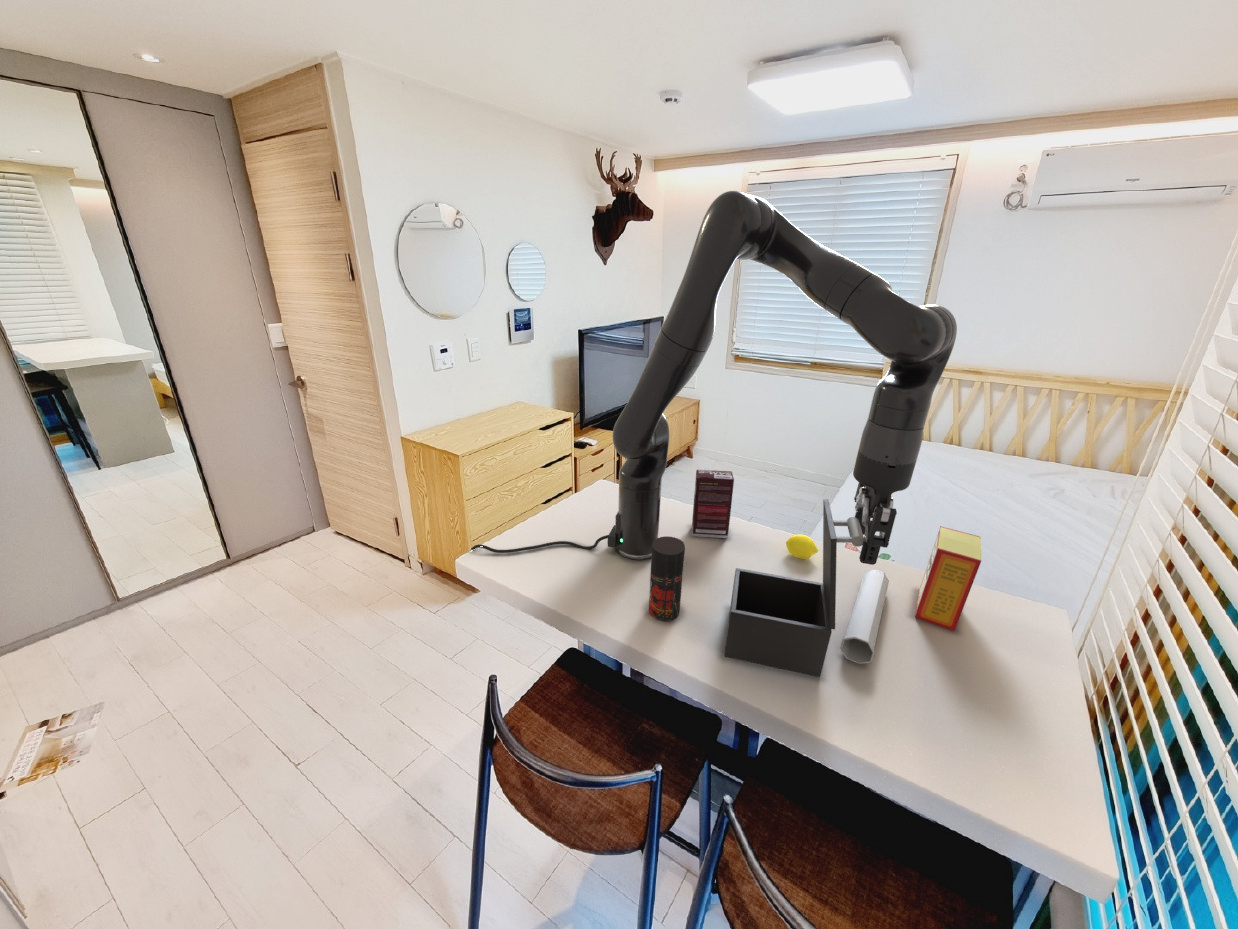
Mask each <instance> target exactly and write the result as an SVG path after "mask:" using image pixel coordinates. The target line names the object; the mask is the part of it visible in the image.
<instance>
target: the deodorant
mask: <svg viewBox="0 0 1238 929" xmlns="http://www.w3.org/2000/svg"><path fill="white" fill-rule="evenodd" d="M685 553H686V544H685V542H684V541H682V540H681V539H680V538H678V537H675V536H666V535H665V536H660V537H659V536H658V538H657V539H655V540H654V541H653V543H652V556H651V558H650V576H649V578H650V579H649V594H648V596H649V597H648V614H649V616H650V617H652V618H653V620H657V621H659V622H662V623H663V622H665V623H666V622H667V623H668V622H673V621H674V620H676V619H677V618H678V617H679V616H680V611H681V599H682V590H683V589H682V588H683V576H684V566H685V565H684V564H685Z"/></svg>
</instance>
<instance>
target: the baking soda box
mask: <svg viewBox="0 0 1238 929" xmlns="http://www.w3.org/2000/svg"><path fill="white" fill-rule="evenodd" d="M981 538H982V537H981V536H980V535H976V534H972V533H968V532H965V531H961V530H956V529H953V528H949V527H946V526H941V525H940V526H939V528H938V533H937V535H936V539H935V540H934V544H933V547H932V550H931V554H930V556H929V559H928V562H927V566H926V569H925V572H924V574H923V578H922V580H921V584H920V586H919V590H918V594H917V601H916V608H915V615H914V619H917V620H921V621H924V622H927V623H930V624H933V625H935V626H938V627H941V628H945V629H946V630H950V631H953V632H955V631H956V628H957V626H958V623H959V620H960V618H961V615H962V613H963V610H964V607H965V605H966V603H967V600H968V598H969V595H970V592H971V589H972V586H973V584H974V582H975V579H976V576H977V574H978V571H979V569H980V566H981V563H982V540H981Z"/></svg>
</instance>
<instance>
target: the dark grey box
mask: <svg viewBox="0 0 1238 929" xmlns="http://www.w3.org/2000/svg"><path fill="white" fill-rule="evenodd" d="M730 600H731V601H730V608H729V615H728V624H727V631H726V638H725V639H726V640H725V648H724V658H725V657H726V658H729V659H734V660H738V661H739V660H740V661H744V662H748V663H754V664H758V665H762V666H765V667H771V668H775V669H779V670H785V671H788V672H794V673H798V674H803V675H808V676H812V677H816V678H821V677H822V676H821V675H822V672H823V668H824V664H825V659H826V656H827V652H828V649H829V644H830V640H831V636H832V630H833V629H830V628H829V621H828V614H827V607H826V600H825V592H824V585H823V582H818V581H812V580H806V579H801V578H796V577H791V576H790V577H789V576H784V575H779V574H773V573H767V572H761V571H756V570H752V569H751V570H750V569H744V568H739V567H736V568H735V572H734V579H733V585H732V593H731V599H730Z"/></svg>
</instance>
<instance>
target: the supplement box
mask: <svg viewBox="0 0 1238 929" xmlns="http://www.w3.org/2000/svg"><path fill="white" fill-rule="evenodd" d="M734 483H735V478H734V474H733V471H732V470H730V471H729V470H714V469H713V470H710V469H696V471H695V482H694V494H693V507H692V517H691V530H692V532H691V533H692V537H697V538H698V537H699V538H717V539H728V538H729V530H730V521H731V513H732V512H731V511H732V504H733V495H734V494H733V493H734Z"/></svg>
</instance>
